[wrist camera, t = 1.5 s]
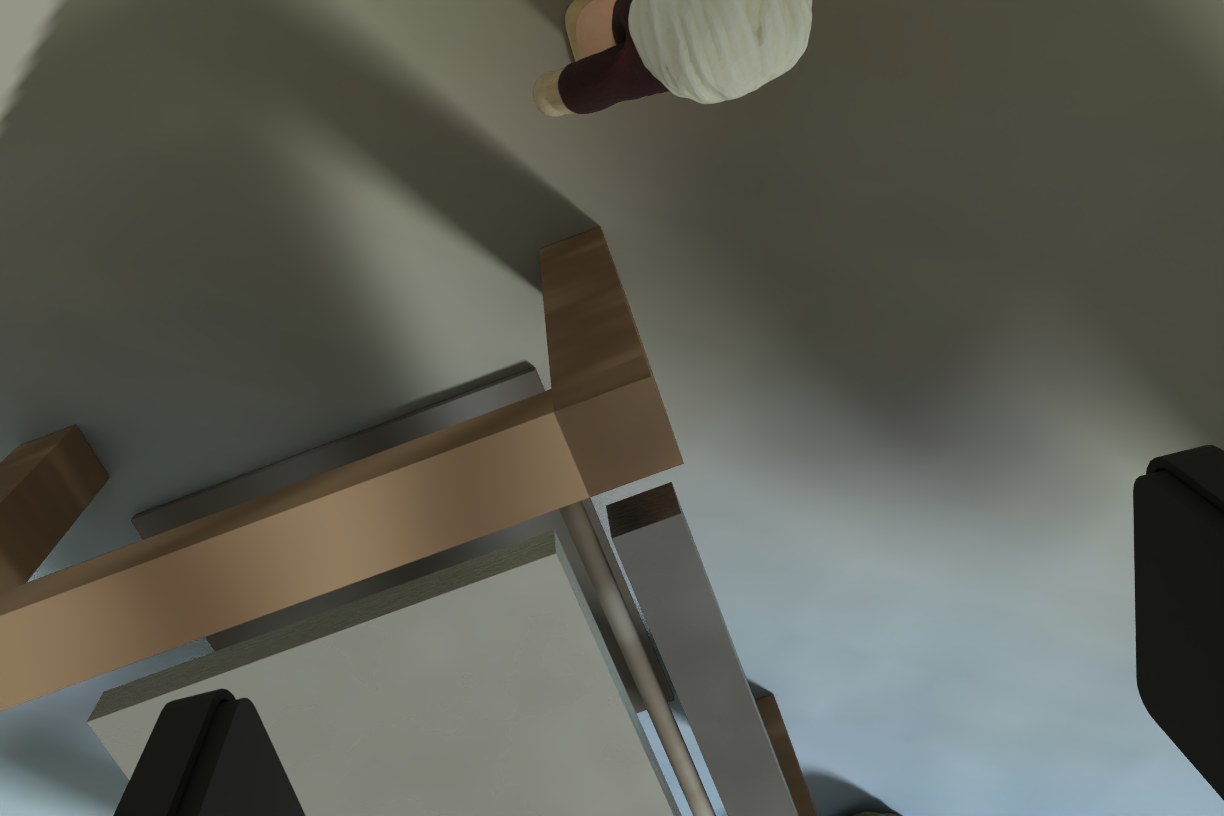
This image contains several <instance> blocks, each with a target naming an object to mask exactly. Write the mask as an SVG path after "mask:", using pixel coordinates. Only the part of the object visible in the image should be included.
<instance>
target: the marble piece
mask: <svg viewBox="0 0 1224 816" xmlns="http://www.w3.org/2000/svg"><path fill="white" fill-rule="evenodd" d="M852 816H902V815H899V814H892V813H885V814H880V813H876V812H870V811H868V812H862V813H858V814H855V815H852Z"/></svg>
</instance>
